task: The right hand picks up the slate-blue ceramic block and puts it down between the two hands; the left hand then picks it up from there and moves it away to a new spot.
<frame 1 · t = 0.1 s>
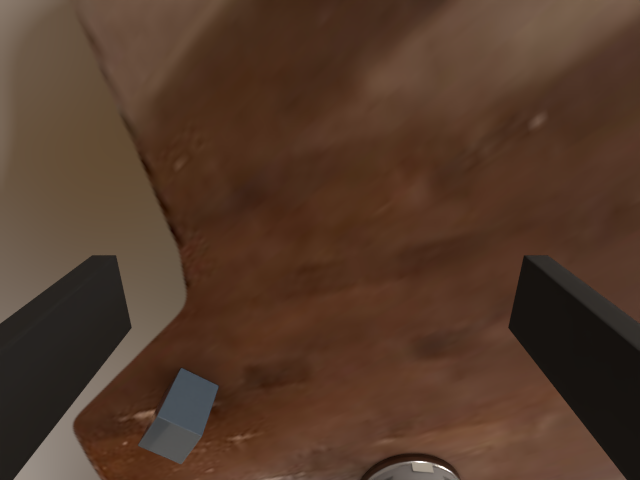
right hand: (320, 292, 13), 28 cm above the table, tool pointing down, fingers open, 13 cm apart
block: (191, 390, 50), on the table
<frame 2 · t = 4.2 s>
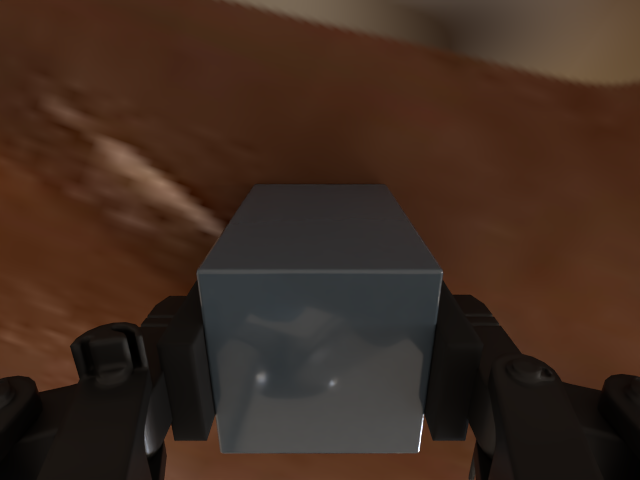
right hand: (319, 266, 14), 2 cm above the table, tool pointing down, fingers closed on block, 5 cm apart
block: (319, 246, 16), on the table, touching right hand
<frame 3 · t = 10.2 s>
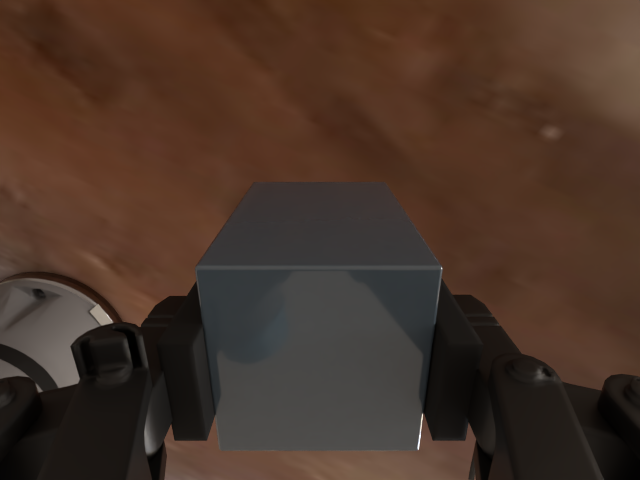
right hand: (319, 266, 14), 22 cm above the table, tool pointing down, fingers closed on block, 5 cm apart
block: (319, 244, 16), point 20 cm above the table, touching right hand
when the right hand's fingers open (3 cm above the table, at t = 16.4 s): block drops 1 cm, on the table.
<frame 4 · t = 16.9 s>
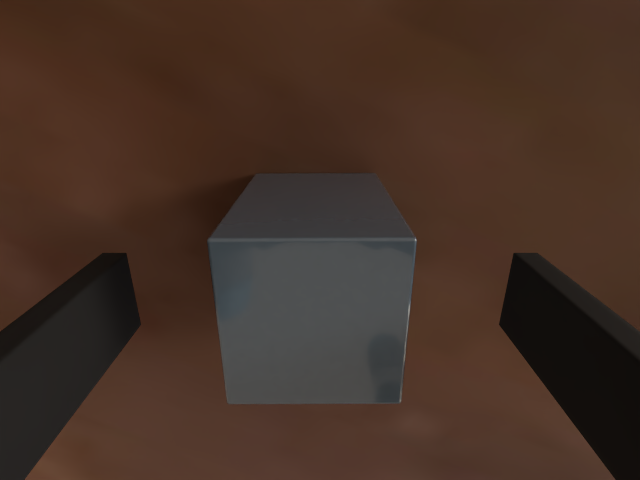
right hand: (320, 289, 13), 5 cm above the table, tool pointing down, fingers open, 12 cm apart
block: (315, 231, 18), on the table
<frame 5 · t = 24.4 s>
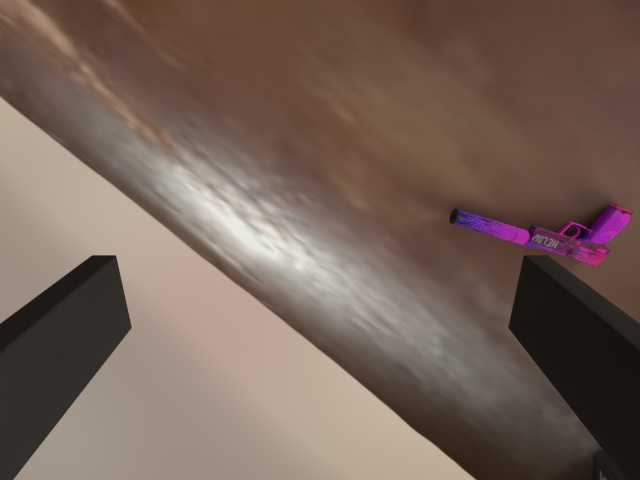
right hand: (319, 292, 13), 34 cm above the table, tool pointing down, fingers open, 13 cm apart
handgun: (541, 221, 48), on the table
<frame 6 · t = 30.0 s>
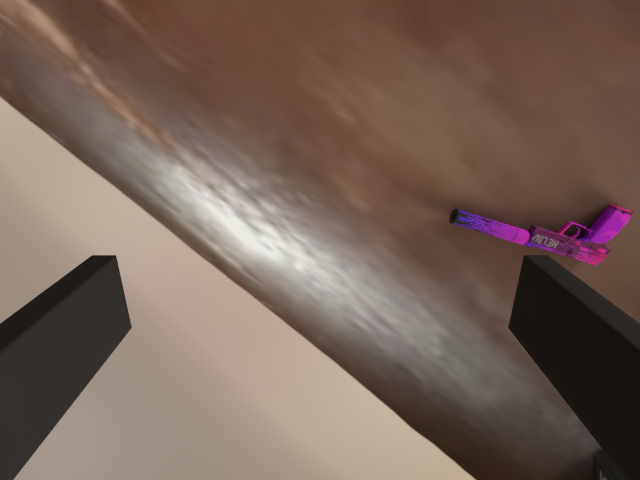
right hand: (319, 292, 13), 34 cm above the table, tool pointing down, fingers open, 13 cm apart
handgun: (541, 221, 48), on the table
when the left hand's fingers open (3 cm above the table, at t = 35.8 s): block drops 1 cm, on the table.
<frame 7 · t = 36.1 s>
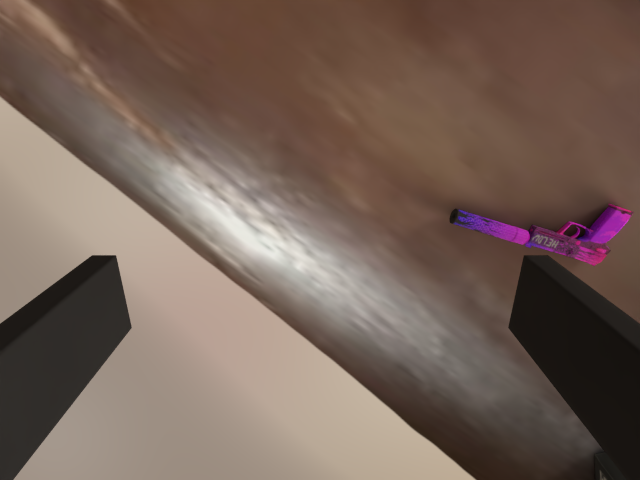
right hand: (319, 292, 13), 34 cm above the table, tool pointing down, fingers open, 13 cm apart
handgun: (541, 221, 48), on the table
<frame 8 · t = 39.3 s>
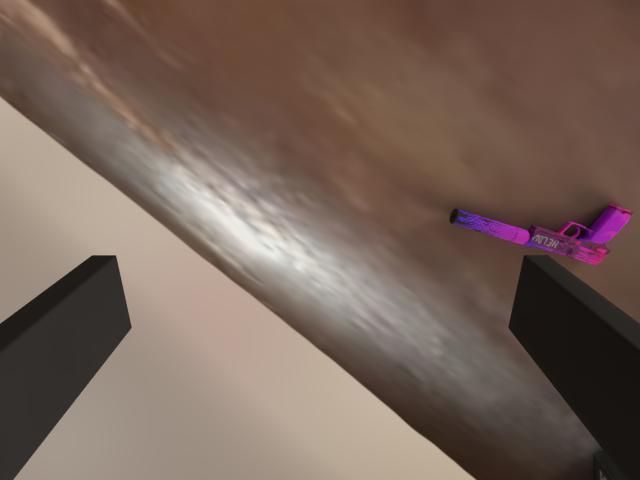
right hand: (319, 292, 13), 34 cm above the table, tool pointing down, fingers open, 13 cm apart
handgun: (541, 221, 48), on the table
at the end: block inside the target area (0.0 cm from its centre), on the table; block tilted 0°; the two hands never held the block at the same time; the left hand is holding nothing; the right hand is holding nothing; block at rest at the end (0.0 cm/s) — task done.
